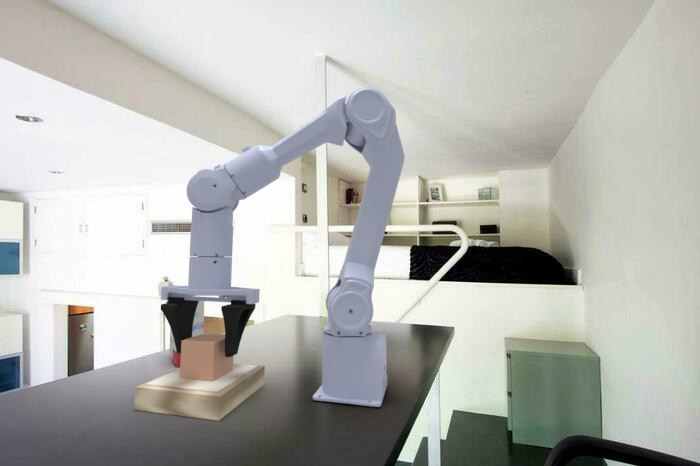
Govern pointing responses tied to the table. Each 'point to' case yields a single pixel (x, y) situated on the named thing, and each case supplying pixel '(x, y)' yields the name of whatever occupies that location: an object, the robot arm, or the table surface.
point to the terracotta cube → (204, 357)
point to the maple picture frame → (199, 393)
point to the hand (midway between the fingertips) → (207, 353)
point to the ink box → (196, 330)
